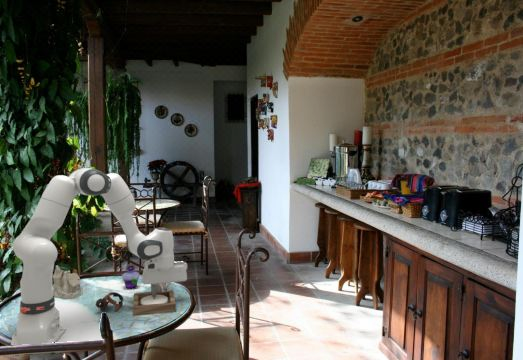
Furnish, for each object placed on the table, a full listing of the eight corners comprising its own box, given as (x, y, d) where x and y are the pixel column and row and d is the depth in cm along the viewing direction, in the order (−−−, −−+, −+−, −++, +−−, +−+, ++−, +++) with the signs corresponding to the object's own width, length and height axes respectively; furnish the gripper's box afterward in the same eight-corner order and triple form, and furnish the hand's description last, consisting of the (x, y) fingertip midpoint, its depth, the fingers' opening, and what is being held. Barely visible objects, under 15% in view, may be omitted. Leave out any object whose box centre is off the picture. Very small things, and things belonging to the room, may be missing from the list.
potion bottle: (131, 291, 224) (131, 267, 223) (118, 288, 228) (117, 265, 227) (143, 286, 232) (142, 263, 231) (130, 283, 236) (129, 261, 234)
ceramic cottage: (67, 300, 212) (66, 268, 211) (45, 295, 220) (45, 265, 220) (94, 292, 225) (94, 262, 225) (73, 288, 234) (72, 259, 233)
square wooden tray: (175, 311, 199) (175, 303, 199) (133, 315, 195) (132, 307, 194) (173, 297, 216) (173, 289, 216) (134, 300, 212) (134, 292, 212)
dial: (168, 307, 201) (168, 292, 200) (140, 309, 198) (139, 294, 198) (167, 297, 213) (166, 283, 212) (140, 299, 210) (140, 285, 209)
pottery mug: (111, 304, 209) (119, 289, 208) (121, 318, 204) (129, 303, 203) (88, 305, 200) (96, 290, 198) (97, 320, 194) (106, 304, 193)
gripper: (186, 258, 214) (187, 287, 216) (141, 262, 209) (142, 291, 211) (187, 262, 208) (188, 291, 210) (141, 266, 203) (142, 295, 205)
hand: (165, 291), depth 210 cm, fingers closed
